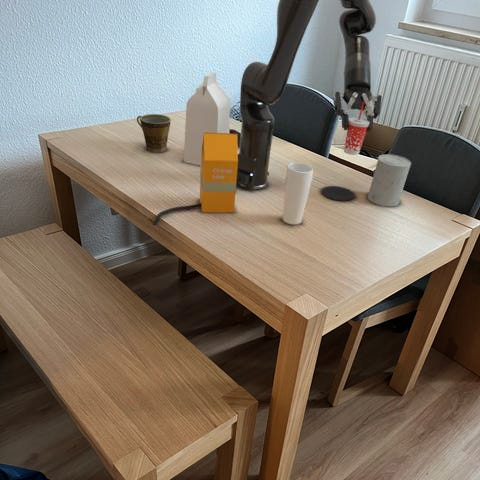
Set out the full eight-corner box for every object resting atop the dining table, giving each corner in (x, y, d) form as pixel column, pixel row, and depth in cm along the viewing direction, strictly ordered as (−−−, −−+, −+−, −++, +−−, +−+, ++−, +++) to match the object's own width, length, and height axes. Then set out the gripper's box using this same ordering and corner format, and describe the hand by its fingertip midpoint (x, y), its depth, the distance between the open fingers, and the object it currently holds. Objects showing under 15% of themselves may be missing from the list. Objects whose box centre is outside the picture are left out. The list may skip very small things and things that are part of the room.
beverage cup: (363, 156, 139) (376, 106, 130) (342, 154, 139) (354, 104, 130) (359, 149, 144) (372, 100, 135) (339, 147, 143) (350, 97, 134)
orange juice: (233, 212, 131) (240, 139, 118) (201, 212, 129) (205, 137, 117) (229, 199, 137) (235, 128, 124) (199, 199, 135) (201, 127, 122)
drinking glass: (306, 218, 132) (316, 165, 122) (300, 229, 127) (310, 174, 117) (283, 213, 133) (291, 160, 124) (276, 223, 128) (284, 169, 119)
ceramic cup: (176, 149, 164) (176, 119, 158) (157, 156, 157) (157, 125, 151) (148, 139, 169) (146, 110, 163) (128, 146, 162) (126, 116, 156)
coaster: (345, 204, 141) (345, 203, 141) (315, 193, 145) (316, 192, 145) (359, 194, 148) (359, 193, 147) (331, 184, 152) (331, 183, 152)
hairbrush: (233, 122, 183) (272, 141, 167) (233, 132, 185) (271, 151, 169) (215, 125, 179) (252, 143, 163) (215, 135, 182) (252, 154, 165)
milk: (216, 168, 154) (221, 81, 137) (183, 161, 156) (184, 74, 140) (228, 157, 163) (234, 73, 146) (197, 150, 165) (200, 67, 149)
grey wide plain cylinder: (363, 192, 149) (374, 153, 142) (392, 193, 150) (404, 155, 143) (372, 205, 142) (384, 165, 134) (403, 207, 143) (416, 167, 135)
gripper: (337, 64, 133) (337, 121, 132) (386, 68, 135) (387, 125, 133) (329, 80, 141) (329, 134, 139) (375, 84, 142) (376, 137, 141)
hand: (357, 129), depth 136 cm, fingers closed on beverage cup, 6 cm apart
